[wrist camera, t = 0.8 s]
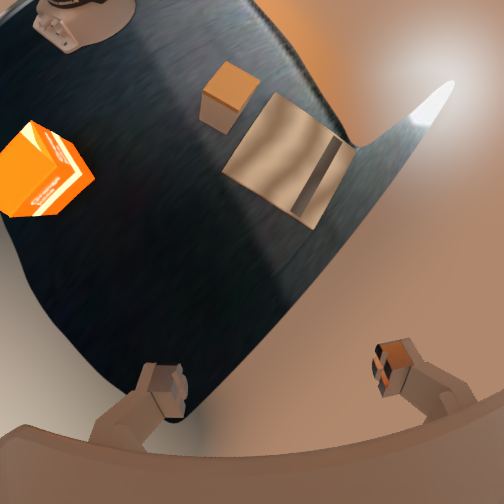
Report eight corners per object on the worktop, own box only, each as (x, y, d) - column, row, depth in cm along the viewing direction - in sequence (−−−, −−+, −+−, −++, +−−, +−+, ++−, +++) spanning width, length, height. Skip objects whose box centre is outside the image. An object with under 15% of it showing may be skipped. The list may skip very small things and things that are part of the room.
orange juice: (95, 178, 40) (35, 159, 21) (57, 215, 39) (-17, 221, 20) (72, 142, 38) (8, 106, 19) (35, 178, 37) (-40, 166, 18)
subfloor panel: (221, 172, 44) (222, 171, 43) (273, 94, 44) (275, 91, 42) (310, 229, 48) (313, 229, 47) (353, 152, 48) (356, 151, 47)
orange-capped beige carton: (199, 119, 42) (202, 89, 30) (217, 94, 42) (226, 59, 30) (226, 135, 43) (239, 110, 32) (243, 109, 43) (261, 79, 32)
